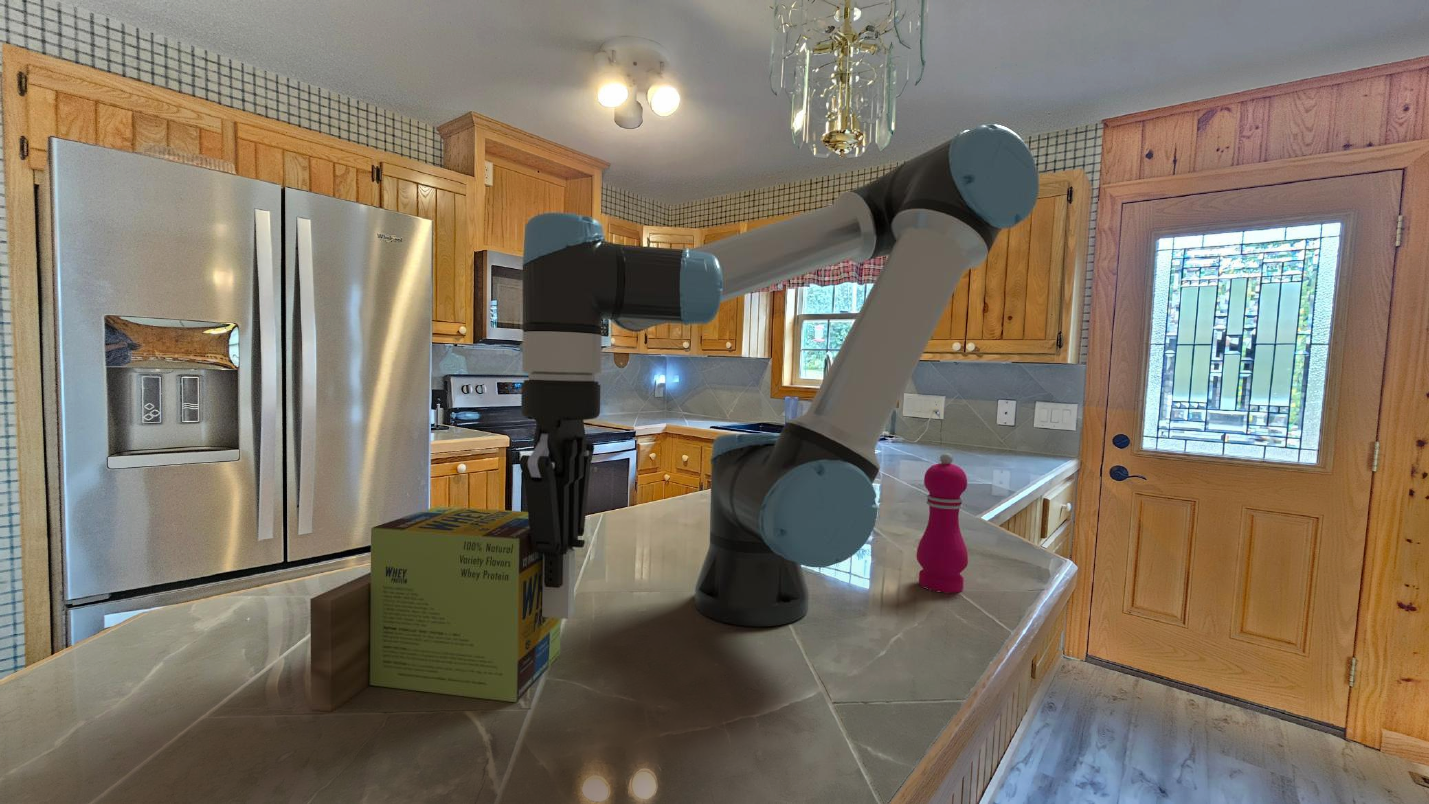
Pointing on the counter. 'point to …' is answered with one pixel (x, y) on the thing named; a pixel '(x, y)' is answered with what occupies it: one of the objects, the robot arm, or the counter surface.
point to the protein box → (459, 604)
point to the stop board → (340, 643)
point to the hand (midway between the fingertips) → (558, 614)
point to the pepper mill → (943, 529)
